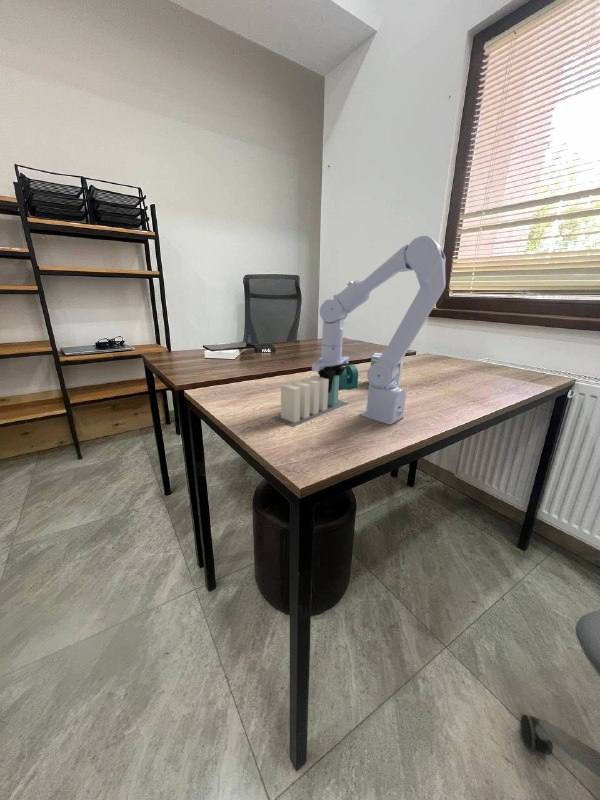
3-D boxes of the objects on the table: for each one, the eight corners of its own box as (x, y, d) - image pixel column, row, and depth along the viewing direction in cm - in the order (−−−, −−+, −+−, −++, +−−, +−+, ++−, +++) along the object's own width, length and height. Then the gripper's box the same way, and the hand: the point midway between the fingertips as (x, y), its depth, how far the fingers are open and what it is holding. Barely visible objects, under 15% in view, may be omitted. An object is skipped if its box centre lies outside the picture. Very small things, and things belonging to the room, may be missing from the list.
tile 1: (337, 404, 91) (339, 375, 88) (333, 406, 90) (335, 377, 87) (324, 400, 95) (325, 372, 91) (320, 402, 93) (321, 373, 90)
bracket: (357, 388, 108) (358, 367, 105) (340, 390, 106) (341, 368, 103) (332, 375, 124) (333, 356, 121) (317, 377, 121) (318, 357, 119)
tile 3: (318, 412, 85) (319, 381, 82) (313, 414, 84) (314, 383, 81) (305, 408, 88) (306, 378, 85) (300, 409, 87) (301, 379, 84)
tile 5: (299, 420, 80) (300, 387, 77) (294, 422, 79) (294, 389, 76) (286, 415, 83) (286, 383, 80) (281, 417, 82) (280, 385, 79)
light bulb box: (368, 384, 112) (371, 355, 109) (371, 380, 118) (374, 352, 114) (398, 388, 108) (402, 358, 105) (400, 383, 114) (404, 355, 110)
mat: (348, 404, 93) (348, 403, 93) (292, 428, 76) (292, 427, 76) (328, 397, 98) (328, 396, 98) (271, 418, 82) (271, 417, 81)
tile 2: (327, 409, 88) (328, 379, 85) (322, 411, 86) (324, 380, 83) (314, 404, 91) (315, 375, 88) (309, 406, 90) (310, 376, 87)
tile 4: (309, 416, 83) (310, 384, 80) (304, 418, 81) (305, 386, 78) (296, 411, 86) (296, 380, 83) (291, 413, 85) (291, 382, 81)
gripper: (336, 340, 94) (334, 382, 98) (304, 345, 84) (303, 392, 88) (355, 343, 89) (352, 387, 94) (324, 349, 79) (321, 398, 84)
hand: (329, 390), depth 91 cm, fingers closed on tile 1, 2 cm apart
